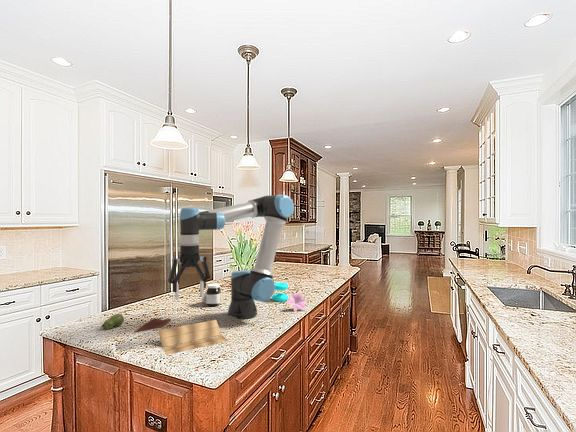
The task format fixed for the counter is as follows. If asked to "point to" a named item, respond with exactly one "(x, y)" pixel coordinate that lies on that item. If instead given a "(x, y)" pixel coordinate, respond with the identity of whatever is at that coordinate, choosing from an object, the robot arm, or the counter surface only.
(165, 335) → the plank
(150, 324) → the wooden tablet
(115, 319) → the pear
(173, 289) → the robot arm
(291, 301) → the lily
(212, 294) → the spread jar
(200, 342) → the laid boards
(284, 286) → the donuts
